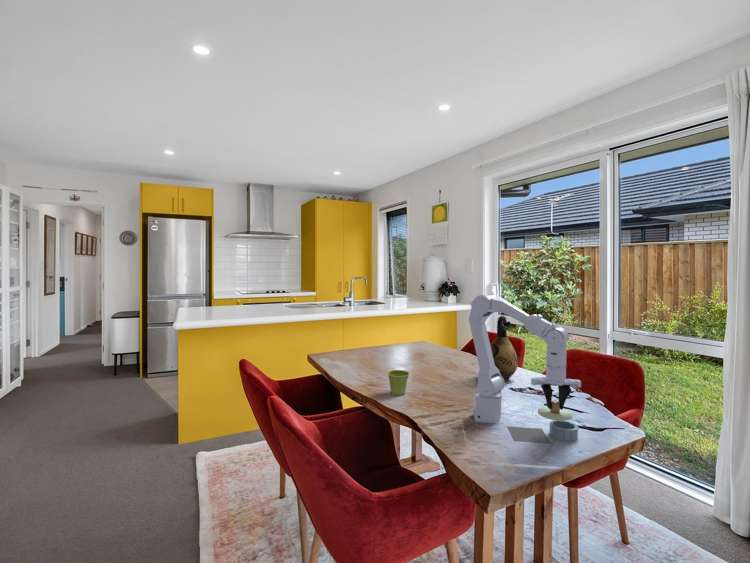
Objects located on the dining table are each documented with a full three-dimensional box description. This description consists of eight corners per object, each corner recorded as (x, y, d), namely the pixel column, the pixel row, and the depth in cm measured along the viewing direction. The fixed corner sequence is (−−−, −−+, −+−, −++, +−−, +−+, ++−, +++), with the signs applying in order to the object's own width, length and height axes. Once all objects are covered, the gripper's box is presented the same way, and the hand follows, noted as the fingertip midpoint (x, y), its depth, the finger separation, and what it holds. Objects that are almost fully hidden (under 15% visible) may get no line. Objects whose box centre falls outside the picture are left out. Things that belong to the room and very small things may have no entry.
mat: (514, 442, 124) (514, 440, 124) (507, 428, 135) (507, 426, 135) (551, 445, 123) (551, 443, 123) (541, 430, 134) (541, 428, 133)
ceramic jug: (521, 383, 186) (523, 319, 185) (488, 383, 186) (489, 318, 185) (510, 373, 203) (512, 314, 202) (479, 373, 203) (480, 313, 202)
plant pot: (407, 397, 164) (408, 376, 164) (385, 395, 166) (385, 375, 166) (410, 390, 174) (410, 370, 173) (388, 389, 175) (389, 369, 175)
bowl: (554, 441, 125) (554, 429, 125) (546, 431, 133) (546, 419, 133) (581, 443, 124) (582, 430, 124) (572, 432, 132) (572, 420, 132)
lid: (542, 419, 124) (543, 406, 123) (534, 408, 134) (534, 396, 133) (577, 421, 122) (577, 408, 122) (565, 410, 132) (566, 398, 132)
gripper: (535, 367, 124) (534, 411, 125) (585, 370, 122) (583, 414, 123) (529, 362, 131) (528, 403, 132) (576, 364, 129) (575, 406, 130)
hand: (554, 408), depth 128 cm, fingers closed on lid, 3 cm apart
